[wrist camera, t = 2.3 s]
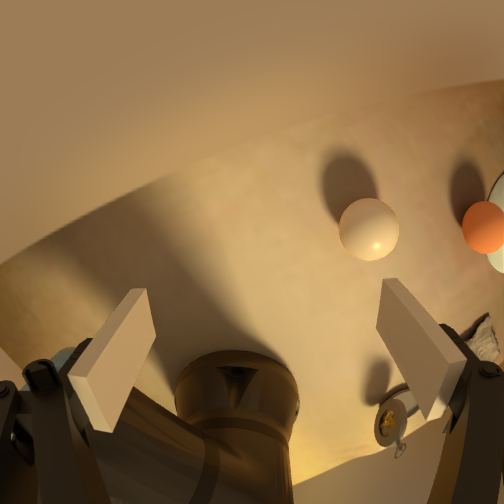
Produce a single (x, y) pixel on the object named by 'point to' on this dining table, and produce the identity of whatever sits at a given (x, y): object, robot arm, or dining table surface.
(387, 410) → the pocket watch
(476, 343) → the mineral specimen
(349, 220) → the cue ball
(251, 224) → the dining table surface
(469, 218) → the object ball
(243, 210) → the dining table surface
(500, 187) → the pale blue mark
